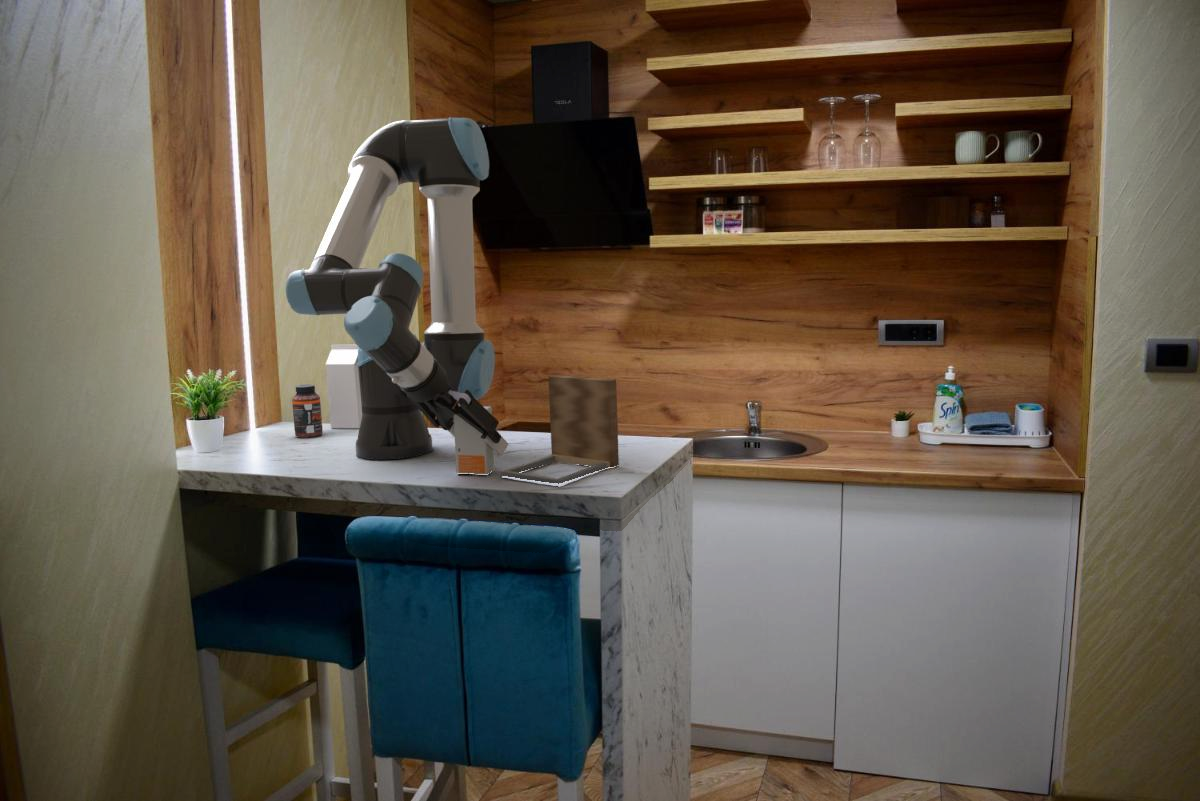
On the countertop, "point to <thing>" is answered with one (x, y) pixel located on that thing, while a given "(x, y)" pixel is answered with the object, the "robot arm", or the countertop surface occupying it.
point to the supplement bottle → (307, 412)
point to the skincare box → (472, 448)
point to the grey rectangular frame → (594, 464)
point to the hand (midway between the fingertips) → (488, 447)
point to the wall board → (584, 417)
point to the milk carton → (344, 387)
